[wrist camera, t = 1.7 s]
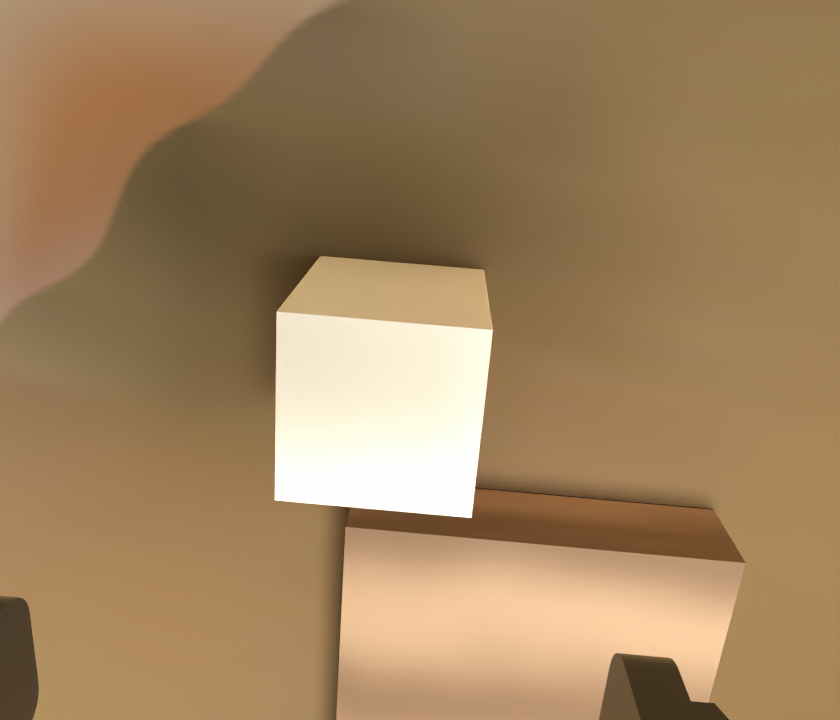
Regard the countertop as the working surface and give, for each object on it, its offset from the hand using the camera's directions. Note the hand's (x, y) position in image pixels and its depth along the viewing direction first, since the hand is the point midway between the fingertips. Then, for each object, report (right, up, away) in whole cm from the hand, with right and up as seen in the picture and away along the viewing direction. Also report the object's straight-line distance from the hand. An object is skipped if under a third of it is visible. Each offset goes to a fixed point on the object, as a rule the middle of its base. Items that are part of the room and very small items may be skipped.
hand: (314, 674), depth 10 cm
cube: (+1, +5, +14) cm, 14 cm away
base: (+5, -6, +17) cm, 19 cm away
